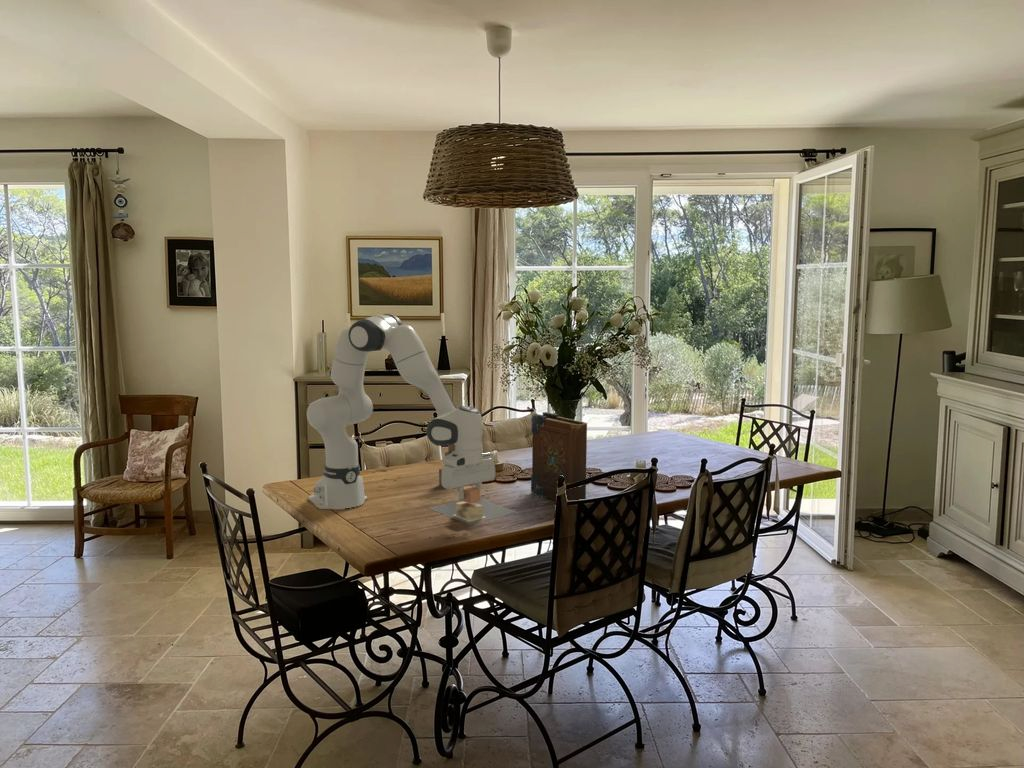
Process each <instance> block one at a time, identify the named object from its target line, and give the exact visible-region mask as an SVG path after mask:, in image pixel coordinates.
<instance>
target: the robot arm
mask: <svg viewBox="0 0 1024 768" xmlns="http://www.w3.org/2000/svg"><path fill="white" fill-rule="evenodd" d="M335 345H336V346H335V350H334V352H333V358H332V365H331V369H330V370H331V371H330V378H331V380H332V382H333V383H334V385H336V386H338V393H337V395H332V396H331V395H330V396H327V397H321V398H319V399H317V400H314V401H311V402H310V404H308V405H307V409H306V419H307V422H308V423H309V425H310V427H312V428H313V429H315V430H316V431H317V432H318V433H319V434H320V436H321V439H322V440H323V444H324V450H325V451H324V452H325V465H323V476H322V477H321V478H319V479H318V481H317V482H315V484H314V487H313V494H310V495H309V496H308V498H307V499H308V500H309V501H310V502H311V503H312V504H313V505H314V506H315V505H316V506H317V507H318V508H319V509H318V508H317V507H316V506H315V507H316V508H317V509H318V510H344V509H343V508H350V509H352V508H351V507H355V508H357V507H356V506H358V507H360V506H359V505H361V506H362V504H363V503H365V501H367V500H368V496H367V495H365V489H364V478H363V477H362V476H360V474H361V467H360V464H359V448H358V447H359V445H358V442H357V441H356V439H354V438H353V437H351V436H349V435H348V433H347V428H346V427H347V426H351V425H352V426H353V425H355V424H357V425H358V424H360V423H362V422H364V421H366V420H368V419H369V418H371V416H372V414H373V412H374V406H373V405H374V404H373V401H372V400H371V398H370V397H369V395H367V394H366V391H365V387H364V377H365V371H366V365H367V361H368V356H369V352H375V351H377V352H378V351H381V350H382V349H384V350H385V351H387V352H389V355H390V356H391V358H392V360H393V362H394V365H395V367H396V368H397V371H398V373H399V375H400V376H401V378H402V379H403V380H404V382H406V383H407V384H410V385H412V386H415V387H418V388H420V389H422V390H423V391H424V392H425V393H426V394H427V396H428V397H429V399H430V402H431V403H432V405H433V407H434V408H435V410H436V412H437V415H438V416H437V417H435V418H432V419H431V421H429V422H428V423H427V426H426V432H425V433H426V436H427V439H428V440H429V441H430V443H432V444H433V445H435V446H440V447H443V446H448V445H451V444H454V445H455V450H454V451H453V452H452V453H450V454H448V455H447V456H445V455H444V456H443V457H442V464H443V466H442V468H441V469H442V474H441V484H442V486H443V487H442V486H441V487H442V488H444V489H446V490H453V489H456V491H457V492H458V498H459V497H460V499H466V493H464V492H463V489H464V487H465V486H471V485H475V486H474V488H477V489H480V490H481V489H482V486H483V482H488V481H492V480H493V481H494V480H495V478H496V466H495V465H496V464H495V457H494V454H493V453H491V452H490V451H487V452H484V453H483V449H484V448H483V443H482V437H483V421H482V420H483V419H482V414H481V412H480V410H478V408H476V407H473V406H470V405H460V406H458V407H457V406H456V404H455V403H454V401H453V399H452V397H451V395H450V394H449V392H448V389H447V388H446V386H445V385H444V383H443V381H442V379H441V377H440V376H439V374H438V372H437V370H436V369H435V366H434V364H433V363H432V361H431V360H432V359H431V358H430V355H429V353H428V351H427V350H426V349H427V348H426V347H425V345H424V343H423V341H422V339H421V337H420V336H419V335H418V333H417V331H416V330H415V329H414V328H413V327H412V326H410V325H408V324H403V322H402V320H401V319H400V318H399V317H398V316H396V315H394V314H390V313H384V314H376V315H372V316H369V317H366V318H362V319H358V320H357V321H356V322H354V323H352V324H351V326H350V327H345V328H343V330H342V331H341V332H340V334H339V336H338V339H337V342H336V344H335ZM366 499H367V500H366ZM363 505H364V504H363Z"/></svg>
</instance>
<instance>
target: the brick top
mask: <svg viewBox="0 0 1024 768" xmlns="http://www.w3.org/2000/svg"><path fill="white" fill-rule="evenodd" d="M463 492H464V493H466V499H460V497H459V496H458V501H459V500H461V501H464V502H467V503H470V504H471V503H475V502H479V501H480V499H481V488H480V489H477V488H475V486H474V487H473V486H471V485H467V486H464V489H463Z"/></svg>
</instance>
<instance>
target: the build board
mask: <svg viewBox="0 0 1024 768" xmlns="http://www.w3.org/2000/svg"><path fill="white" fill-rule="evenodd" d="M459 502H463V501H461V500H459V499H458V500H455V501H451V502H447V503H444V504H439V505H435V506H431V507H428V509H429V510H432V511H435V512H437V513H438V514H439V513H440V514H441V515H445V516H446V517H450V518H452V519H454V520H457V521H459V522H462V523H465V524H468V525H473V524H478V523H481V522H484V521H489V520H492V519H495V518H499V517H504V516H508V515H509V514H510V515H511V514H514V513H517V511H516V510H513V509H510V508H508V507H504V506H501V505H497V504H496V503H493V502H490V501H487V500H484V499H481V498H480V501H479V502H475V503H477V504H480V505H482V506H483V518H479V519H475V520H472V521H470V520H468V519H465V518H463V517H460V516H457V515H456V503H459Z"/></svg>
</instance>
